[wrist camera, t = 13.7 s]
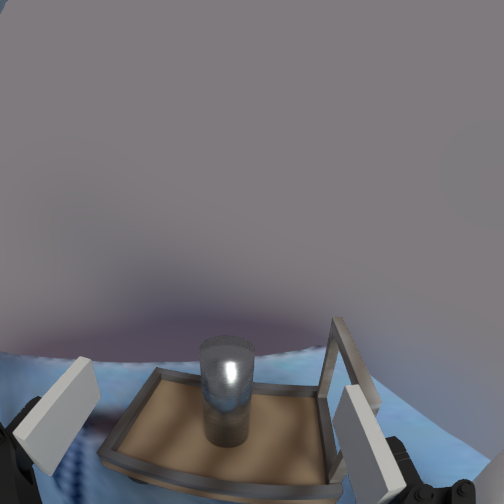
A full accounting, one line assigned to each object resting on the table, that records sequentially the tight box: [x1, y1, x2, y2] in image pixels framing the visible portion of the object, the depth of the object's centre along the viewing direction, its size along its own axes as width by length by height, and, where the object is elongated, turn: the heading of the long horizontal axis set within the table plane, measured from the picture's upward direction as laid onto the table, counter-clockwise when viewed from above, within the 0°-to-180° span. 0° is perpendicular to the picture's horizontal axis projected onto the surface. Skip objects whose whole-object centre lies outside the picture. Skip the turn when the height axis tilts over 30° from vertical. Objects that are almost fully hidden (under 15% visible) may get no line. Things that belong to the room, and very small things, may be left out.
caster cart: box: [96, 317, 382, 504], centre depth 25 cm, size 24×18×19 cm
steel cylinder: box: [200, 336, 255, 448], centre depth 25 cm, size 5×5×12 cm
